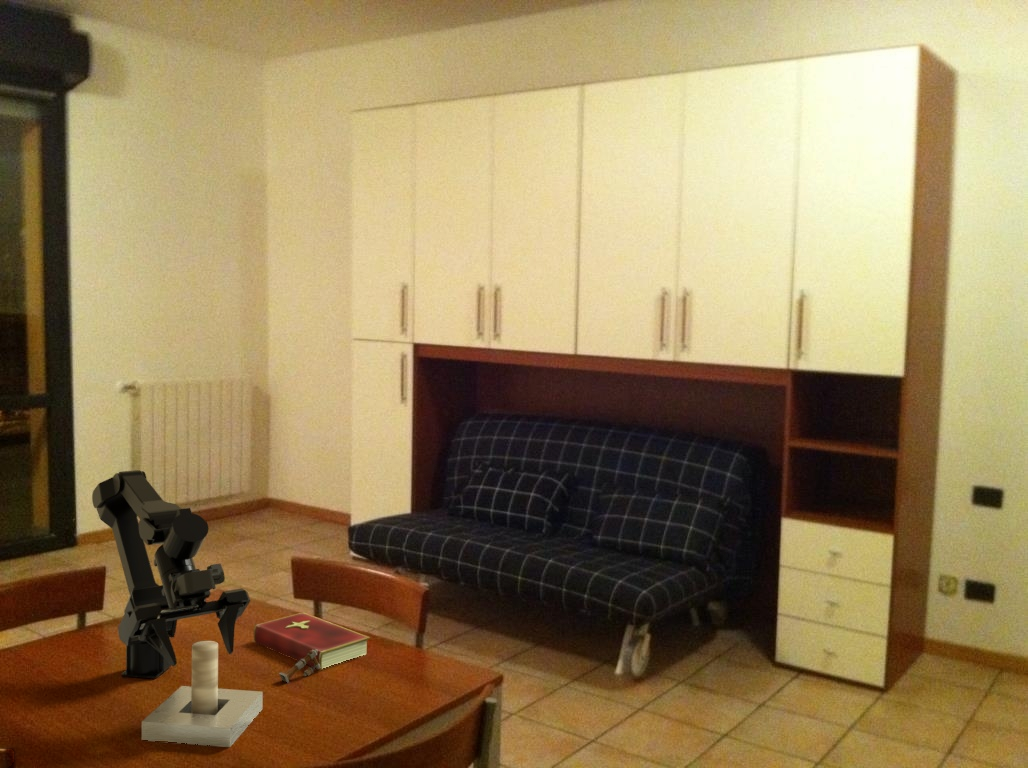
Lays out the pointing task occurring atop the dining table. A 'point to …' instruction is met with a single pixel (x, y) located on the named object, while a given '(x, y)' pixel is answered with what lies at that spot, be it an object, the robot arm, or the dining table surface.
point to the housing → (202, 718)
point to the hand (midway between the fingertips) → (203, 659)
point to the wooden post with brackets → (300, 664)
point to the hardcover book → (311, 639)
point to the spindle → (204, 678)
